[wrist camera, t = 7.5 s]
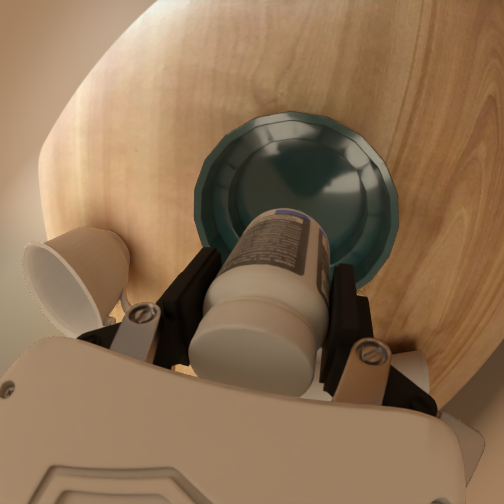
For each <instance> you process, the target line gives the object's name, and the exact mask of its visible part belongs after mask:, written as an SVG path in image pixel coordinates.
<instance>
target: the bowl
mask: <svg viewBox="0 0 504 504" xmlns="http://www.w3.org/2000/svg"><path fill="white" fill-rule="evenodd" d="M279 208H289V209H294V210H298V211H301V212H303V213H305V214H307V215H308V216H310V217H311V218H313V219H314V220H315V221H316V222H317V223H318V224H319V225H320V226H321V228H322V229H323V231H324V232H325V234H326V236H327V238H328V242H329V248H330V288H331V282H332V277H333V271H334V266H339V264H340V263H344V264H352V265H353V269H354V277H355V285H356V291H357V290H358V289H360V288H361V287H363V286H364V285H365V284H367V283H368V282H370V281H371V280H372V279H373V278H374V276H375V275H376V274H377V272H378V271H379V270H380V268H381V267H382V266H383V264H384V263H385V262H386V260H387V259H388V258H389V256H390V253H391V250H392V247H393V244H394V241H395V238H396V235H397V232H398V228H399V210H398V195H397V191H396V188H395V186H394V183H393V180H392V178H391V175H390V173H389V170H388V168H387V166H386V163H385V162H384V160H383V159H382V158H381V157H380V156H379V155H378V153H377V152H376V151H375V150H374V149H373V148H372V147H371V146H370V144H369V143H368V142H367V141H366V140H365V139H364V138H363V137H362V136H361V135H360V134H358V133H356V132H355V131H353V130H351V129H349V128H348V127H346V126H344V125H342V124H340V123H338V122H337V121H335V120H333V119H331V118H329V117H325V116H320V115H314V114H308V113H301V112H294V111H288V112H282V113H276V114H271V115H266V116H261V117H256V118H254V119H252V120H250V121H248V122H247V123H245V124H243V125H241V126H240V127H238V128H236V129H235V130H233V131H231V132H230V133H228V134H226V136H224V137H223V139H222V140H221V141H220V142H219V143H218V145H217V146H216V147H215V148H214V149H213V151H212V152H211V153H210V154H209V155H208V157H207V158H206V159H205V161H204V163H203V166H202V169H201V172H200V174H199V177H198V180H197V183H196V186H195V189H194V221H195V224H196V227H197V231H198V234H199V237H200V241H201V244H202V246H203V247H211V248H216V249H217V251H218V252H221V261H222V266H223V265H224V263H225V262H226V260H227V258H228V257H229V255H230V254H231V252H232V250H233V249H234V247H235V246H236V244H237V242H238V241H239V239H240V238H241V236H242V235H243V233H244V231H245V230H246V228H247V227H248V226H249V224H250V223H251V222H252V221H253V220H254V219H255V218H256V217H258V216H259V215H261V214H262V213H264V212H266V211H269V210H273V209H279Z"/></svg>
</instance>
